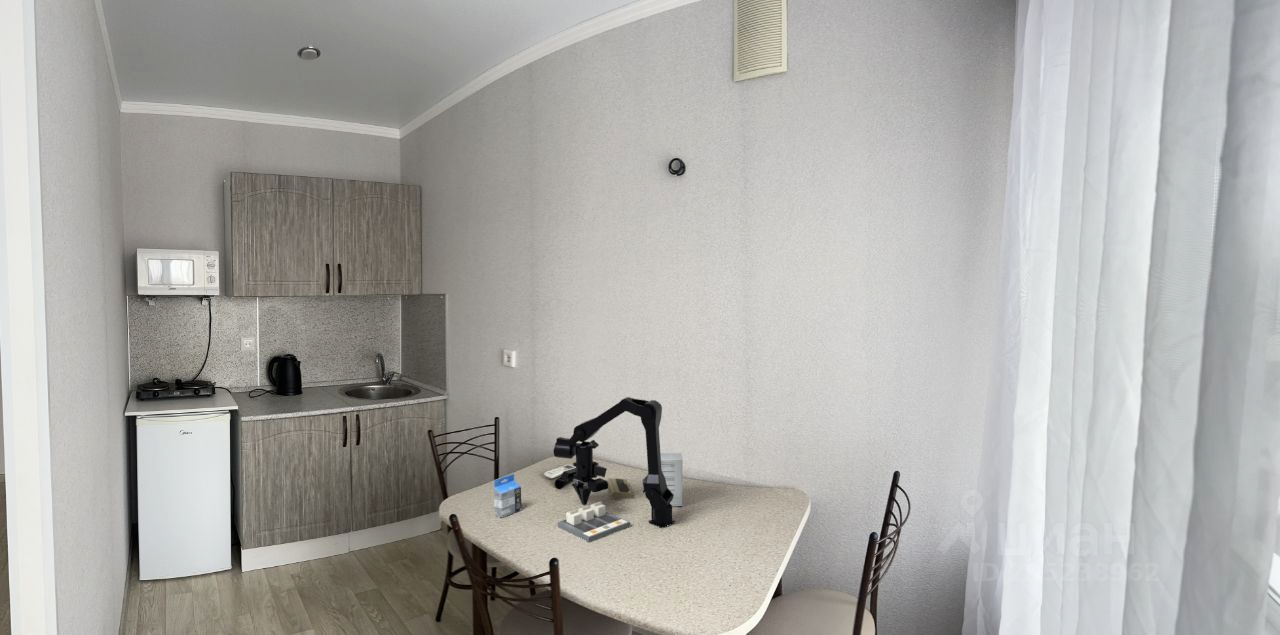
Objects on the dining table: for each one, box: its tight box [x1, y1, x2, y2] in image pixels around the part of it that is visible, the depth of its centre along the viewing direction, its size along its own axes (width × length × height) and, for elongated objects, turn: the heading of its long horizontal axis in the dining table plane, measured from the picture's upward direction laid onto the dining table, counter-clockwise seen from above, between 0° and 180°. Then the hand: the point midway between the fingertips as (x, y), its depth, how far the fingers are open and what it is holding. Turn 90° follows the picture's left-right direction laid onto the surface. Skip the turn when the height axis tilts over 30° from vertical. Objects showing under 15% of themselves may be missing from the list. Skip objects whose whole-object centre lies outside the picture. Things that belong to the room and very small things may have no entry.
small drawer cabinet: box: [660, 452, 684, 507], centre depth 210 cm, size 10×9×17 cm
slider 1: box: [565, 508, 582, 525], centre depth 188 cm, size 4×3×4 cm
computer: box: [606, 477, 634, 500], centre depth 222 cm, size 16×8×3 cm, turn 10°
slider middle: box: [578, 504, 594, 521], centre depth 192 cm, size 4×3×4 cm
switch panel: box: [557, 510, 631, 543], centre depth 189 cm, size 16×17×2 cm
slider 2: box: [590, 500, 606, 517], centre depth 195 cm, size 4×3×4 cm
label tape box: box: [493, 473, 523, 519], centre depth 200 cm, size 9×4×12 cm, turn 143°
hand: (584, 504), depth 201 cm, fingers closed
